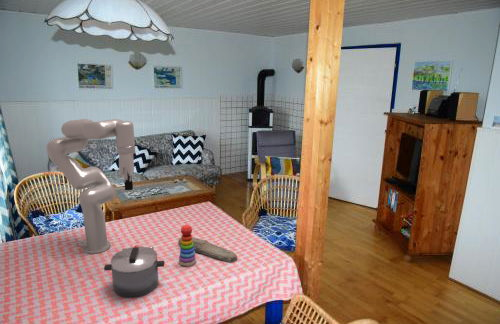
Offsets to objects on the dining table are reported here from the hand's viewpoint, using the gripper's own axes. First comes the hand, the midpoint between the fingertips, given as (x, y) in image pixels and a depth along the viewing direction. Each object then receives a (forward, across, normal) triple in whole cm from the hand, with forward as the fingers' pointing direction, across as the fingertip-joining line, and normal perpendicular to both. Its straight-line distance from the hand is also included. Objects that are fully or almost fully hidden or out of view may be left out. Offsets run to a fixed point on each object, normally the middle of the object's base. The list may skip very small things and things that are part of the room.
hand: (129, 189), depth 158 cm
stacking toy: (+35, +6, +25) cm, 44 cm away
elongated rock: (+36, -4, +34) cm, 50 cm away
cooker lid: (+24, +21, +4) cm, 32 cm away
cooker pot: (+35, +21, +4) cm, 41 cm away
